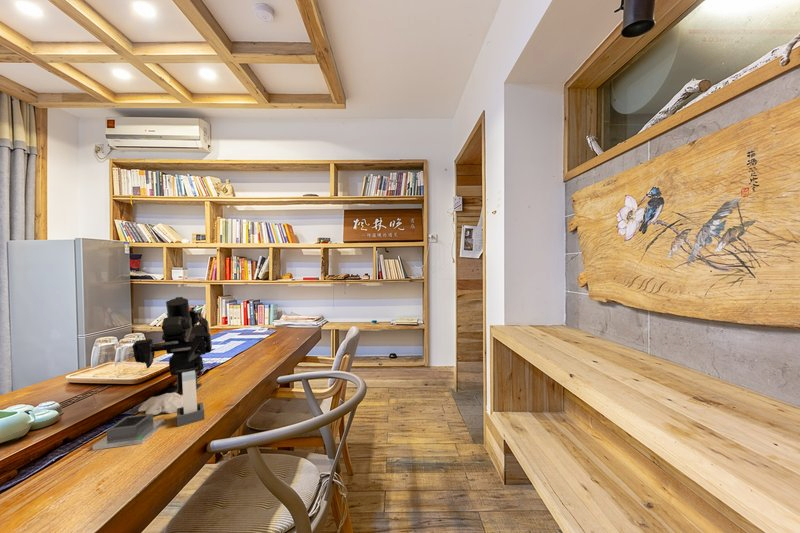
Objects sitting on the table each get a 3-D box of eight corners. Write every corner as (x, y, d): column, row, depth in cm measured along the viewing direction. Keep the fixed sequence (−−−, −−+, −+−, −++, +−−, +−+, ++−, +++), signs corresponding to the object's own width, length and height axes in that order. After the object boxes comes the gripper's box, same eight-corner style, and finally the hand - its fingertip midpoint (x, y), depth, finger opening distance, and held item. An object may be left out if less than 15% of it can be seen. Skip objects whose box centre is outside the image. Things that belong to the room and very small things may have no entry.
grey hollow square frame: (177, 417, 86) (177, 408, 86) (202, 410, 90) (202, 402, 90) (177, 426, 81) (176, 417, 81) (204, 419, 84) (204, 410, 84)
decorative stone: (127, 419, 88) (180, 422, 88) (126, 406, 87) (179, 409, 87) (158, 397, 99) (205, 400, 98) (157, 386, 98) (204, 389, 98)
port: (122, 428, 82) (121, 415, 82) (165, 422, 83) (164, 409, 83) (92, 450, 72) (91, 435, 72) (142, 443, 74) (141, 428, 74)
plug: (184, 417, 86) (181, 372, 86) (197, 414, 88) (194, 370, 88) (184, 422, 83) (182, 376, 83) (197, 419, 85) (195, 373, 85)
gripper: (137, 314, 92) (119, 343, 79) (210, 308, 100) (204, 333, 87) (144, 346, 96) (127, 379, 83) (214, 338, 104) (208, 366, 90)
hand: (168, 363), depth 86 cm, fingers open, 9 cm apart
